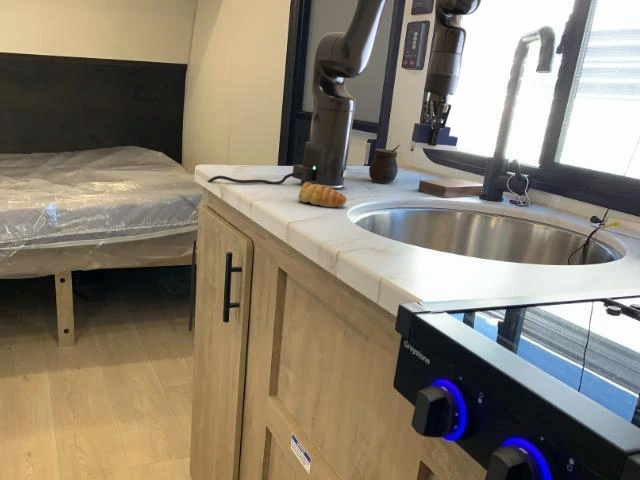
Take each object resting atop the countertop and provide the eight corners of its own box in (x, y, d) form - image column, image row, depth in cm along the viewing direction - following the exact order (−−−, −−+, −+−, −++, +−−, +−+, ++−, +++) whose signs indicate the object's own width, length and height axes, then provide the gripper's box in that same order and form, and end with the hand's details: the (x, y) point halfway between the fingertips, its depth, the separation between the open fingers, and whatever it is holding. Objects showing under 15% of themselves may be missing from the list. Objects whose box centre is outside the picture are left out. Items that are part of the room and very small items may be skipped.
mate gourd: (376, 178, 159) (383, 139, 155) (401, 183, 154) (409, 144, 150) (361, 180, 154) (367, 140, 150) (386, 185, 149) (394, 144, 145)
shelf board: (443, 197, 140) (445, 186, 139) (417, 190, 147) (419, 180, 146) (486, 195, 149) (489, 185, 148) (460, 188, 155) (462, 178, 154)
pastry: (349, 205, 123) (352, 186, 121) (339, 211, 117) (342, 191, 115) (306, 197, 126) (308, 179, 125) (294, 202, 120) (297, 183, 119)
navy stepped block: (414, 147, 151) (418, 124, 149) (409, 145, 155) (413, 122, 153) (456, 151, 151) (461, 128, 149) (450, 149, 156) (455, 127, 154)
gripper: (419, 71, 153) (406, 139, 159) (438, 71, 140) (423, 146, 146) (447, 74, 154) (433, 142, 160) (469, 75, 140) (453, 149, 146)
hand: (428, 144), depth 153 cm, fingers closed on navy stepped block, 4 cm apart
